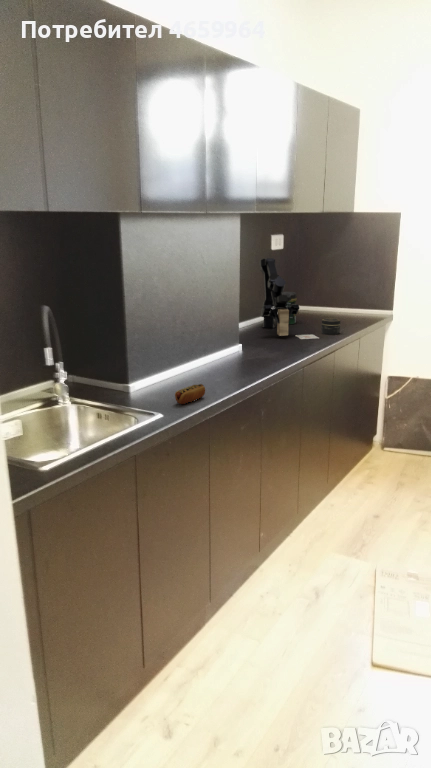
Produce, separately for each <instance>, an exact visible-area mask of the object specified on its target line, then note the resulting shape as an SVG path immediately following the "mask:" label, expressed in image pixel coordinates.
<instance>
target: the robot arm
mask: <svg viewBox="0 0 431 768" xmlns="http://www.w3.org/2000/svg"><path fill="white" fill-rule="evenodd" d="M276 262H277V261H276V259H275V258H274V257H267V258H266V257H265V258H263V257H262V258H261V259H260V260H259V263H258V265H259V268H260V271H261V273H262V274H263V285H264V287H263V288H264V301H263V303H262V306H261V309H260V317H261V318H263V325H262V327H261V328H262V329H274V328H275V327H276V325H274V323H275V322H276V323H278V324H279V323H280V321H279V317H278V309H288V310H289V318H290V316H291V314H296V315H297V314H298V312H299V310H300V305H299V304H298V303H296V304H291V306H290V307H286V305H287V302H288V301H290V300H291V295H290V294H287V295H283V294H282V292H285V291H284V290H285V286H286V283H287V282H286V280H285V279H284V278H282V276H280V275H279V274H278V271H277V267H276Z"/></svg>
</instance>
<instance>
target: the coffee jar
mask: <svg viewBox="0 0 431 768" xmlns="http://www.w3.org/2000/svg"><path fill="white" fill-rule="evenodd" d="M282 294H283V295H287V294H290V295H291V300H290V301H288V302H287V305H286V307H290V306H291V304H297V300H298V299H297V292H294V291H283V292H282ZM296 315H297V314H291V316H290V318H289V324H288V325H295V324H296V323H297V321H296V320H297V319H296V318H297V316H296Z"/></svg>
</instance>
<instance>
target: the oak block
mask: <svg viewBox="0 0 431 768" xmlns="http://www.w3.org/2000/svg"><path fill="white" fill-rule="evenodd" d="M277 314H278V317H279V321H280V323H279V324H278V323H277V322H276V323H277V326H276V327H277V328H276V329H277V330H276V335H278V336H279V337H280V336H281V337H283V336H289V325H290V324H289V310H288V309H278V313H277Z"/></svg>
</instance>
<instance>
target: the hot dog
mask: <svg viewBox="0 0 431 768" xmlns="http://www.w3.org/2000/svg"><path fill="white" fill-rule="evenodd" d="M205 394H206V387H205V386H204V384H202V383H199V384H193V385H189V386H187V387H184V388H180V389H178V390H177V391H176V392H175V393H174V398H175V401H176V402H177V403H178V404H179V405H180V404H181V405H186V404H185V403H187V404H189V403H188V402H191V403H193V402H192V401H194V400H196V399H198V400H200V399H202V398H203V396H204V395H205ZM201 397H202V398H201ZM199 398H200V399H199ZM196 401H197V400H196ZM194 402H195V401H194Z"/></svg>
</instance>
